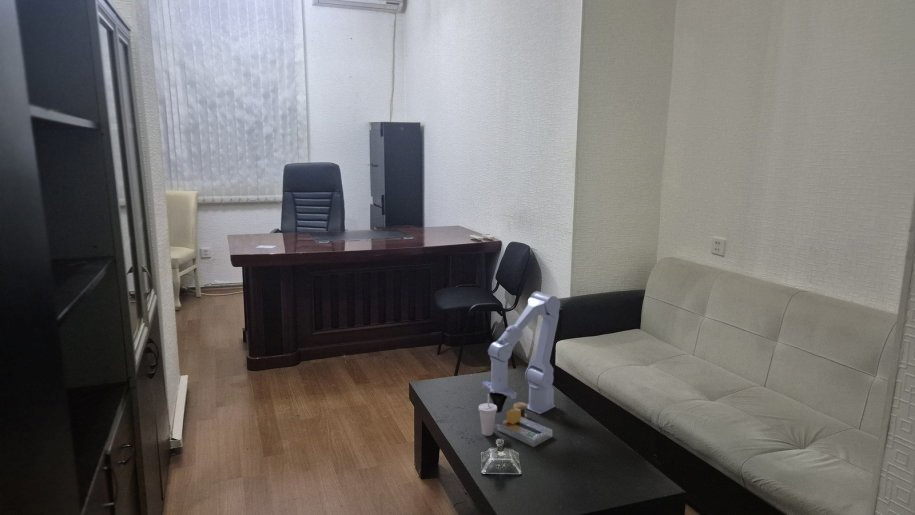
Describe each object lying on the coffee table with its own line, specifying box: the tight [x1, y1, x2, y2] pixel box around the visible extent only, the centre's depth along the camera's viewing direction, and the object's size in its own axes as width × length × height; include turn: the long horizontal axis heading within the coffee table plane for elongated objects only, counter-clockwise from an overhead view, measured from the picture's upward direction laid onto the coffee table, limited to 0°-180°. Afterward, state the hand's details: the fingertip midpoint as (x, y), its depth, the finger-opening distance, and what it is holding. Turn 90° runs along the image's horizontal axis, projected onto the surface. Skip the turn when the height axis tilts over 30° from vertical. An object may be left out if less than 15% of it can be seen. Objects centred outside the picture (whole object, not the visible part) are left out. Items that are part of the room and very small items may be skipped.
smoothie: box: [478, 393, 497, 437], centre depth 203 cm, size 6×6×14 cm
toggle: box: [506, 406, 521, 424], centre depth 207 cm, size 4×3×4 cm
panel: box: [497, 417, 553, 448], centre depth 204 cm, size 10×16×3 cm, turn 44°
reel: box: [513, 401, 528, 419], centre depth 216 cm, size 5×5×5 cm
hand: (498, 411), depth 212 cm, fingers closed
